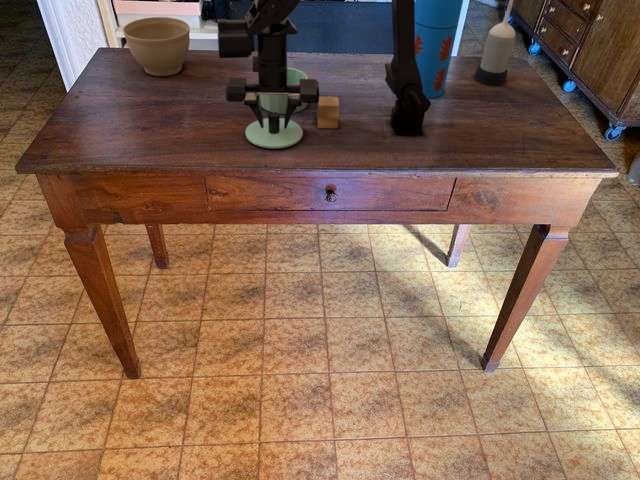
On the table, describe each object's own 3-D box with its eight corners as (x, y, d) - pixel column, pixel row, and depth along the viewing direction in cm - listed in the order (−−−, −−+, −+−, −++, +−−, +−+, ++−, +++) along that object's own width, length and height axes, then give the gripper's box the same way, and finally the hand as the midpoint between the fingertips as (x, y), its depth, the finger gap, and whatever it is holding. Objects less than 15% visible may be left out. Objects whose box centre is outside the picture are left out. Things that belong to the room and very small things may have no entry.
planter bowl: (120, 77, 129) (110, 34, 121) (150, 54, 140) (143, 13, 133) (178, 86, 126) (171, 42, 119) (204, 62, 138) (199, 21, 131)
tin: (306, 92, 126) (307, 67, 122) (308, 114, 118) (308, 88, 114) (261, 91, 126) (260, 66, 121) (259, 113, 117) (258, 87, 113)
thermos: (442, 82, 134) (463, -20, 118) (445, 99, 126) (469, -7, 110) (401, 78, 135) (416, -23, 118) (402, 96, 127) (419, -11, 110)
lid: (302, 122, 115) (302, 101, 111) (303, 151, 105) (303, 129, 102) (247, 121, 114) (246, 100, 111) (243, 150, 105) (242, 128, 101)
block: (336, 118, 117) (337, 96, 113) (337, 128, 113) (339, 105, 110) (317, 118, 116) (317, 96, 113) (317, 128, 113) (318, 105, 109)
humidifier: (502, 74, 140) (530, -24, 123) (507, 86, 134) (538, -15, 117) (472, 71, 140) (497, -27, 124) (476, 84, 134) (502, -18, 118)
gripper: (318, 41, 105) (315, 110, 115) (227, 39, 103) (233, 109, 114) (320, 63, 96) (317, 135, 107) (222, 61, 95) (229, 134, 105)
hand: (273, 127), depth 108 cm, fingers open, 4 cm apart
